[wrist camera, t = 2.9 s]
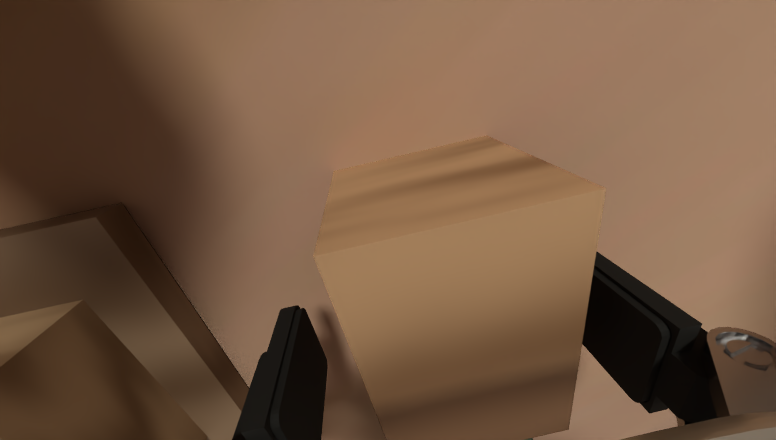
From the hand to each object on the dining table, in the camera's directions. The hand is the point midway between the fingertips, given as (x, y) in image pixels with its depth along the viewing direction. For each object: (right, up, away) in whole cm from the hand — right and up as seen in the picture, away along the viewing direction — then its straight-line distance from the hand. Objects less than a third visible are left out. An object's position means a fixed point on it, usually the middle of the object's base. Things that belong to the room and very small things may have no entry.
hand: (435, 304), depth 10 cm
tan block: (0, +2, +3) cm, 3 cm away
